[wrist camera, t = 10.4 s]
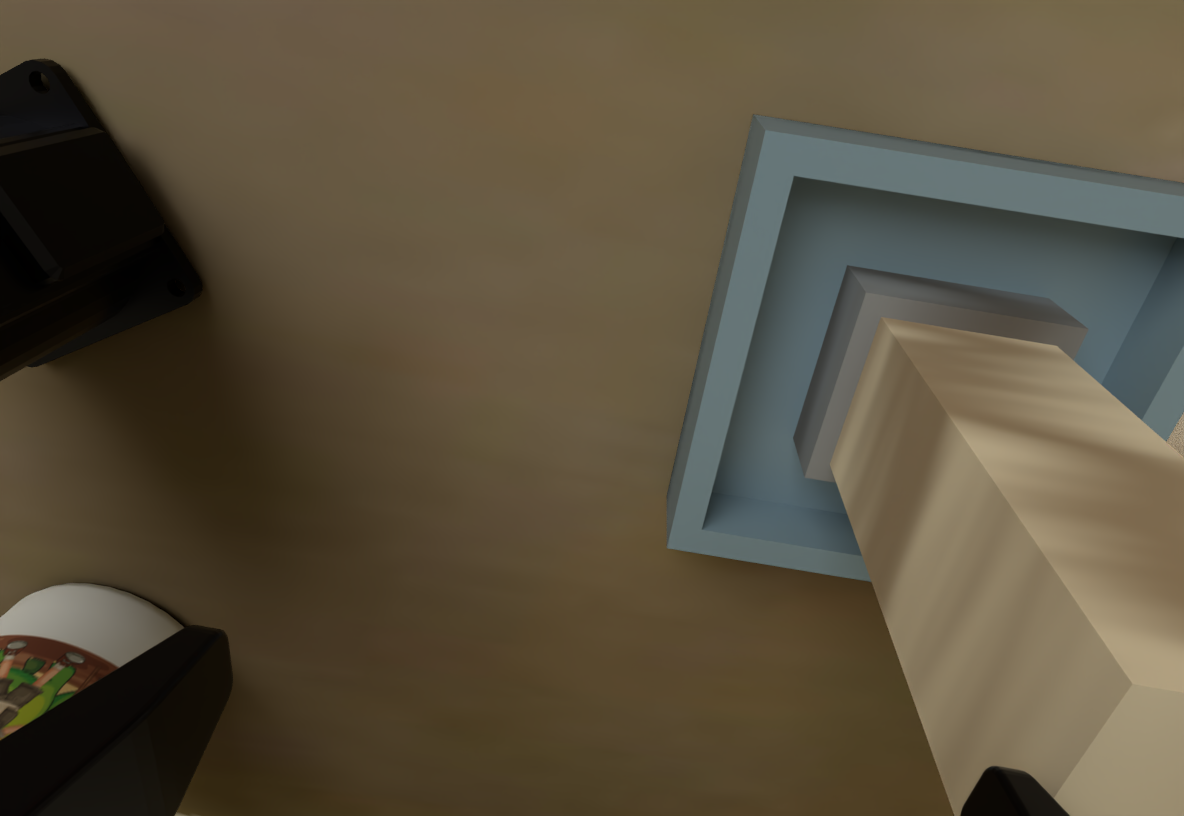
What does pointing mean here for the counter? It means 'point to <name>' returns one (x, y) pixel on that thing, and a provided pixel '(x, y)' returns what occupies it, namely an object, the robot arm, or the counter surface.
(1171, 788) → the beige pillar on base
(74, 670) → the milk bottle
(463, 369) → the counter surface
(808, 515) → the tray
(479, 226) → the counter surface
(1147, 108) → the counter surface
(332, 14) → the counter surface
